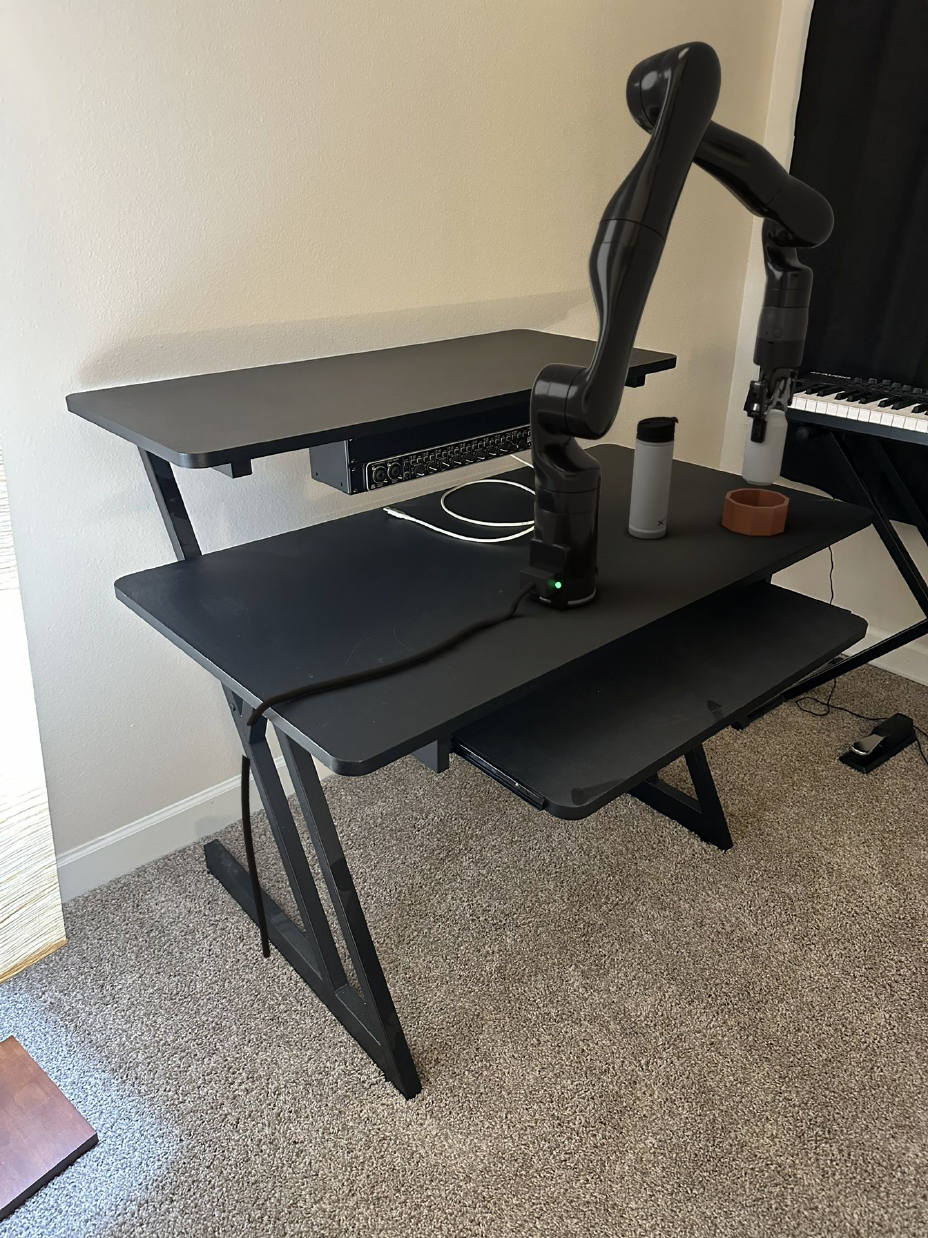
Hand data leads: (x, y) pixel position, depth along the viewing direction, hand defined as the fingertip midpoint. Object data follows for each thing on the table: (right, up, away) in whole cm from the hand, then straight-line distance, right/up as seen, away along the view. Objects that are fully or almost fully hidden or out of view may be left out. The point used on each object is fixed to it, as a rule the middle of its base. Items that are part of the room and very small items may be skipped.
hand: (765, 437), depth 151 cm
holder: (0, -14, +7) cm, 16 cm away
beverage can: (0, -7, +3) cm, 8 cm away
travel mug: (-19, -16, +4) cm, 25 cm away
